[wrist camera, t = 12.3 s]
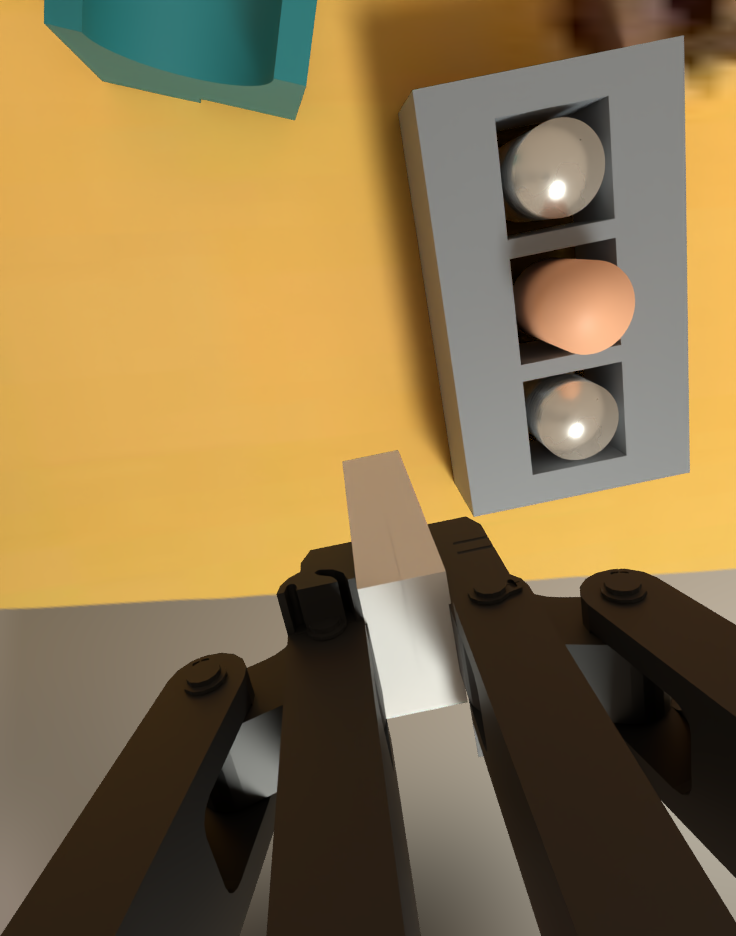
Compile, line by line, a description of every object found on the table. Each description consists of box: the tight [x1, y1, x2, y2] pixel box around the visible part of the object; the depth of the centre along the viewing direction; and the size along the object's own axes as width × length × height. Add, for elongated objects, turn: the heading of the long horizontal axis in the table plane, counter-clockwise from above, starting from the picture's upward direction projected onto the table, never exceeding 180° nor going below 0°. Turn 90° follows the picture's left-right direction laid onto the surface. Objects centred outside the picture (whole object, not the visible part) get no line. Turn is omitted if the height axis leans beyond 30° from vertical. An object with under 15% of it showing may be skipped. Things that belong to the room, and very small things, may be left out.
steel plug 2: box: [523, 372, 619, 460], centre depth 41 cm, size 5×5×6 cm
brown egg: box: [513, 258, 635, 355], centre depth 36 cm, size 5×5×6 cm
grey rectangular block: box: [398, 36, 690, 517], centre depth 39 cm, size 14×24×6 cm, turn 11°
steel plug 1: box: [498, 117, 605, 222], centre depth 36 cm, size 5×5×6 cm
